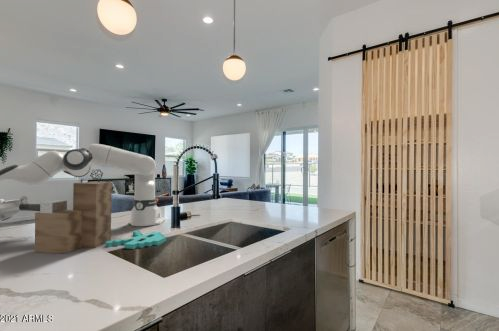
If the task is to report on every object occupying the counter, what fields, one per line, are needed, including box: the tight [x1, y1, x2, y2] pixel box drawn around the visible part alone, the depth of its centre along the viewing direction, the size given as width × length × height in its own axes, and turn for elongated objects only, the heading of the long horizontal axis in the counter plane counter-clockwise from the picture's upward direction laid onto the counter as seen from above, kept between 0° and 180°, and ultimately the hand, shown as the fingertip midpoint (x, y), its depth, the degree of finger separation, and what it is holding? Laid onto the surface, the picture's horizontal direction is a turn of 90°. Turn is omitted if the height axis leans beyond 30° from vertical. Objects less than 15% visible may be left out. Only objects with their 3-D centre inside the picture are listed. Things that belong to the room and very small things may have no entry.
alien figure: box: [105, 230, 167, 250], centre depth 115 cm, size 20×2×20 cm
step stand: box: [34, 181, 113, 254], centre depth 108 cm, size 18×19×26 cm
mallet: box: [19, 199, 68, 213], centre depth 103 cm, size 7×16×4 cm, turn 84°
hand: (14, 199), depth 104 cm, fingers open, 8 cm apart
